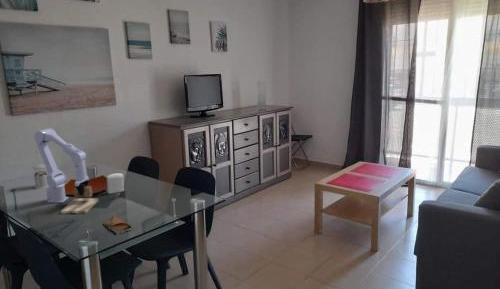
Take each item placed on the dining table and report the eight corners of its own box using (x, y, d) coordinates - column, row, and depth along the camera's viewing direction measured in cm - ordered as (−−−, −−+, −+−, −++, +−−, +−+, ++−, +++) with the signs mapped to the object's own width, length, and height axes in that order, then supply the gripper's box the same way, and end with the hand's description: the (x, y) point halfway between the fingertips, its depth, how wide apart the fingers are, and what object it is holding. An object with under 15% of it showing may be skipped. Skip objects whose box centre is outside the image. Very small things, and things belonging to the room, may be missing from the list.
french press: (39, 189, 249) (34, 153, 243) (29, 186, 255) (24, 150, 249) (53, 185, 257) (48, 149, 251) (43, 182, 263) (38, 147, 257)
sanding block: (74, 198, 224) (73, 188, 222) (77, 195, 228) (76, 186, 226) (89, 197, 224) (88, 188, 223) (92, 195, 228) (91, 186, 226)
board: (60, 213, 212) (60, 211, 212) (75, 200, 231) (74, 198, 230) (85, 213, 212) (85, 210, 212) (98, 200, 231) (98, 198, 230)
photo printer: (123, 189, 250) (121, 171, 247) (125, 191, 247) (123, 173, 244) (107, 192, 245) (105, 174, 242) (108, 194, 241) (107, 175, 238)
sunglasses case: (100, 224, 199) (106, 212, 200) (112, 226, 204) (117, 215, 205) (116, 235, 186) (121, 222, 187) (128, 238, 191) (133, 225, 192)
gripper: (82, 175, 215) (85, 198, 218) (92, 168, 229) (94, 189, 233) (70, 175, 215) (72, 198, 218) (80, 168, 229) (82, 189, 232)
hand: (83, 193), depth 225 cm, fingers closed on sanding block, 4 cm apart
